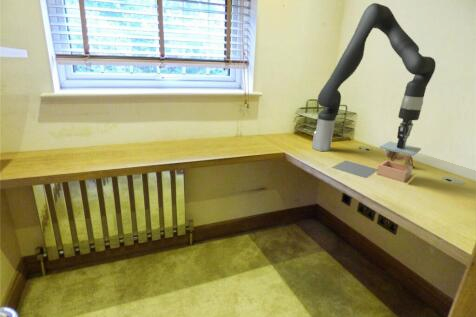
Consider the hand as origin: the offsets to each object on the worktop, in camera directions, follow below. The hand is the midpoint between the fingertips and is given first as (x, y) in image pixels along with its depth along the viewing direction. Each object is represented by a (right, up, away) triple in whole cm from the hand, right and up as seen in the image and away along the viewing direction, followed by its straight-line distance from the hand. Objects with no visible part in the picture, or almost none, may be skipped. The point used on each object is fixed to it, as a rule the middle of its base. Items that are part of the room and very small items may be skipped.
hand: (400, 147), depth 124 cm
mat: (-16, -10, +10) cm, 21 cm away
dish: (-1, -13, +5) cm, 14 cm away
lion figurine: (+9, -9, +19) cm, 23 cm away
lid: (0, -1, 0) cm, 1 cm away
